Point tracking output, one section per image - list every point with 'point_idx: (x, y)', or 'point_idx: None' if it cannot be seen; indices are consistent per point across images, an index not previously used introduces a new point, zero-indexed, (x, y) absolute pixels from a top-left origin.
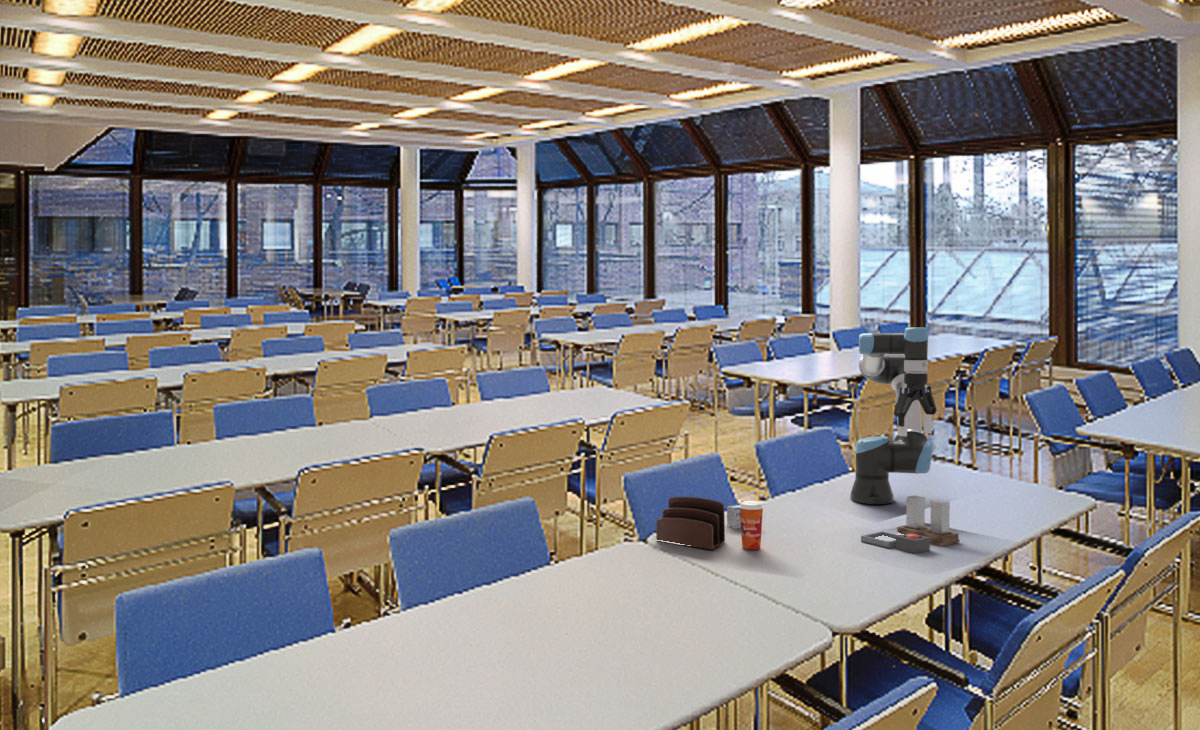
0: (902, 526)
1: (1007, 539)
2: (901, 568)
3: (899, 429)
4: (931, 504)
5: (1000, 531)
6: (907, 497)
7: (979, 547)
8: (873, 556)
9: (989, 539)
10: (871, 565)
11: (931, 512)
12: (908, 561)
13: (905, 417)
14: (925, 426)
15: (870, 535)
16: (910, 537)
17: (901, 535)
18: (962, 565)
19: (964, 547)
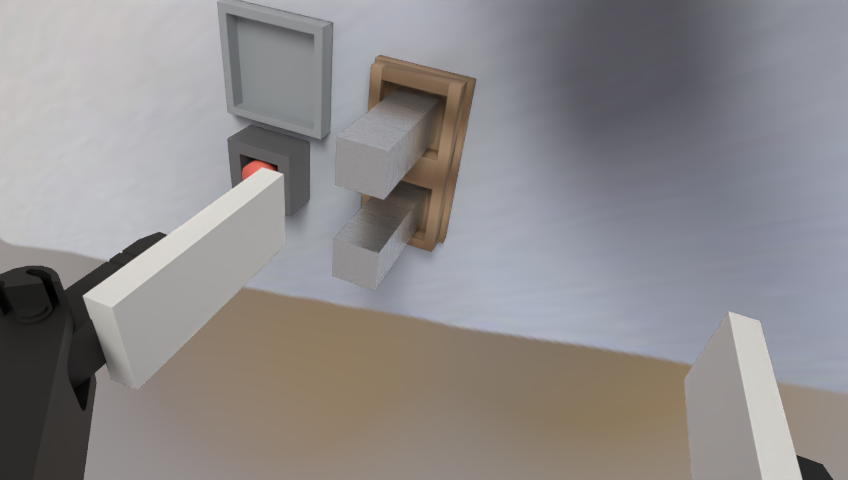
0: (390, 77)
1: (580, 331)
2: (146, 196)
3: (219, 209)
4: (339, 234)
5: (693, 305)
6: (338, 139)
7: (433, 287)
8: (155, 109)
9: (546, 294)
10: (106, 138)
11: (352, 219)
12: (194, 190)
13: (112, 376)
14: (727, 396)
15: (254, 19)
16: (244, 178)
17: (246, 147)
18: (263, 284)
19: (405, 258)
